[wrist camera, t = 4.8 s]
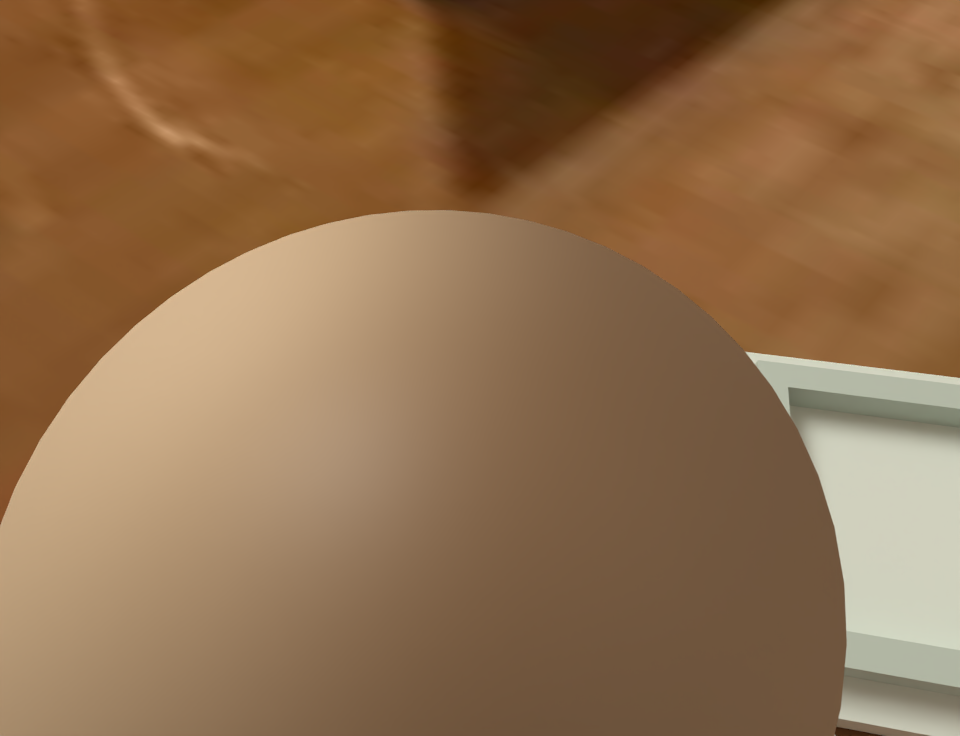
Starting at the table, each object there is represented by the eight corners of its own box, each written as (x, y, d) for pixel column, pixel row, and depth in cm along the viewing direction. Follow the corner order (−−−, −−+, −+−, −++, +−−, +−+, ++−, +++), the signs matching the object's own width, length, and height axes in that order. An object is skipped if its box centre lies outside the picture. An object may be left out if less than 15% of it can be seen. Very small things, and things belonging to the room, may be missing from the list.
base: (703, 701, 16) (731, 691, 14) (702, 372, 22) (723, 329, 19) (1136, 783, 15) (1238, 786, 13) (1026, 414, 20) (1087, 372, 18)
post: (315, 803, 13) (-262, 943, 3) (382, 551, 16) (197, 175, 6) (570, 862, 12) (918, 1273, 2) (594, 590, 15) (808, 255, 5)
